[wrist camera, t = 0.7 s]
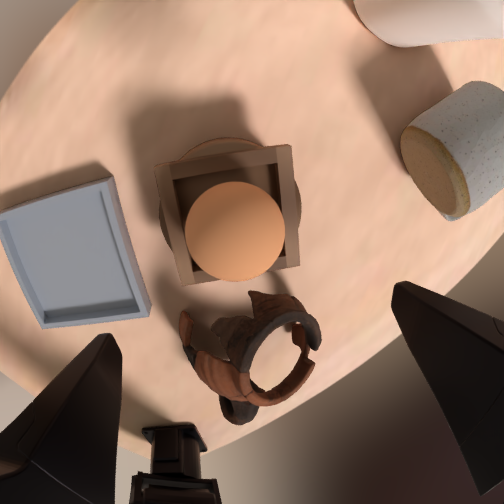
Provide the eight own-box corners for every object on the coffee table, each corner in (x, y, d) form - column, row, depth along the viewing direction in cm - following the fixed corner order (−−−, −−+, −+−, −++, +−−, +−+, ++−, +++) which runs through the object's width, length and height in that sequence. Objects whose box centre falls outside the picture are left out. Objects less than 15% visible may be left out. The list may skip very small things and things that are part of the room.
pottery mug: (167, 275, 22) (226, 314, 16) (268, 263, 28) (341, 288, 21) (175, 404, 25) (224, 464, 18) (260, 377, 30) (317, 418, 24)
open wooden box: (292, 244, 22) (308, 271, 19) (180, 263, 21) (176, 294, 18) (282, 129, 18) (299, 135, 15) (154, 150, 18) (142, 160, 14)
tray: (151, 304, 23) (149, 316, 21) (48, 318, 22) (42, 329, 21) (113, 176, 18) (106, 181, 17) (2, 209, 17) (-8, 216, 16)
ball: (277, 246, 18) (299, 290, 14) (197, 260, 18) (195, 309, 14) (269, 166, 16) (292, 189, 12) (180, 180, 16) (170, 209, 12)
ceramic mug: (377, 123, 19) (452, 142, 12) (447, 76, 17) (522, 84, 11) (425, 233, 23) (484, 279, 17) (483, 183, 22) (543, 215, 15)
